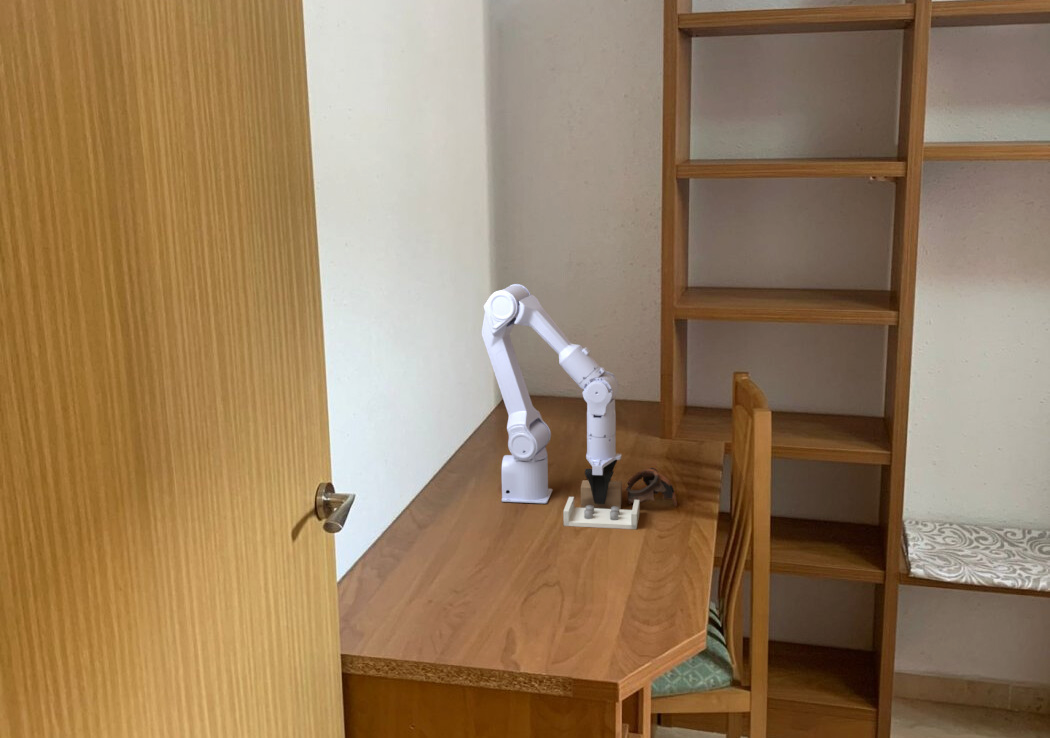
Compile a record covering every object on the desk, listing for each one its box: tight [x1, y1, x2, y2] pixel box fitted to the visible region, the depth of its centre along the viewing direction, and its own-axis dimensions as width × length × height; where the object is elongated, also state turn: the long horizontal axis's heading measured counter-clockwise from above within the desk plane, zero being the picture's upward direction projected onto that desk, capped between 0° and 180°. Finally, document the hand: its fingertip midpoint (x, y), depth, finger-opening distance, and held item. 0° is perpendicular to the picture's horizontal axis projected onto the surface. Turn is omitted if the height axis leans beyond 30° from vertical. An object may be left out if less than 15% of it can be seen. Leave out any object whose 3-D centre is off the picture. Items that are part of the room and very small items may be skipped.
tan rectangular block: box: [580, 479, 623, 510], centre depth 210 cm, size 8×4×4 cm, turn 82°
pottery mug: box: [625, 467, 678, 508], centre depth 211 cm, size 12×10×8 cm
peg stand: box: [562, 496, 640, 530], centre depth 202 cm, size 14×8×3 cm, turn 80°
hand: (601, 497), depth 210 cm, fingers open, 6 cm apart
